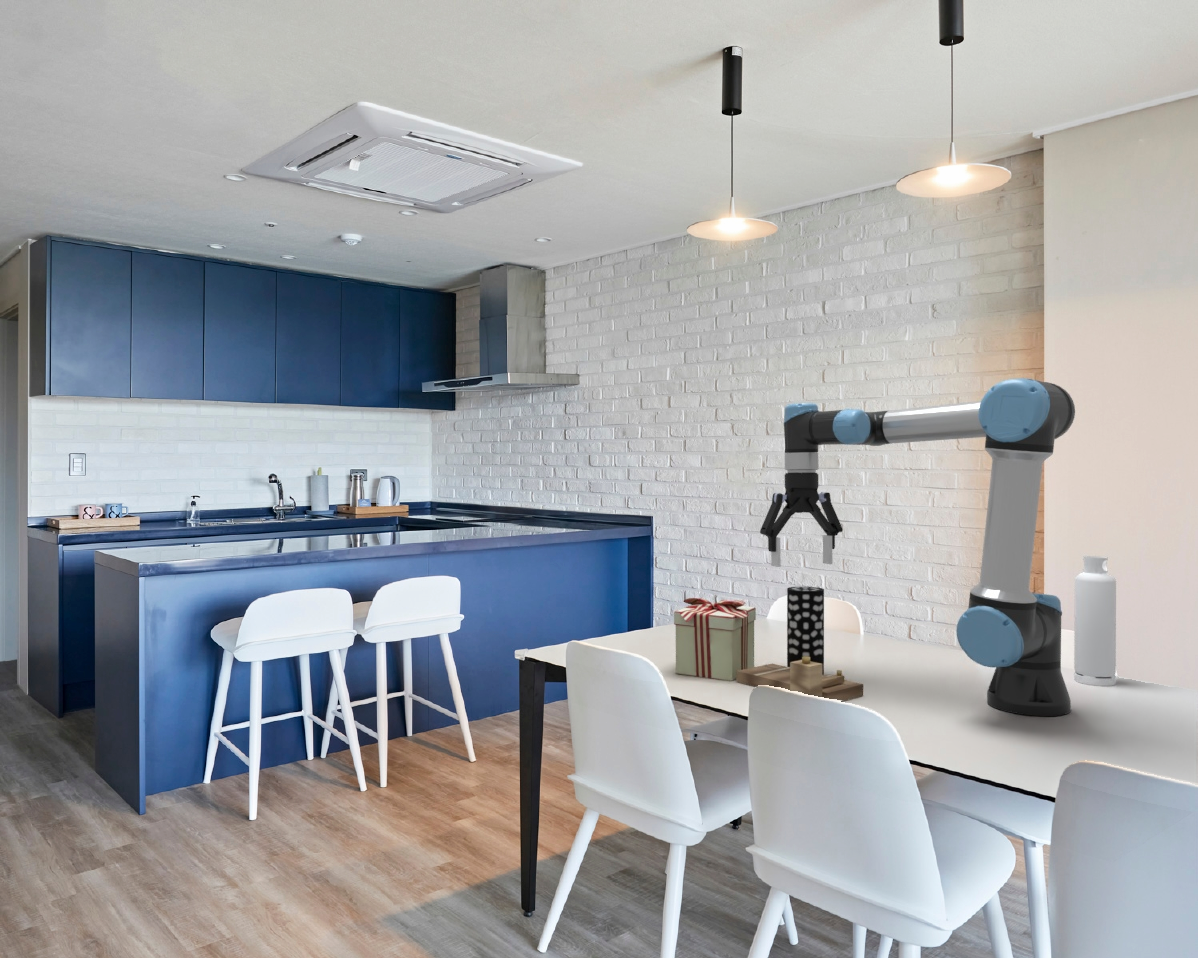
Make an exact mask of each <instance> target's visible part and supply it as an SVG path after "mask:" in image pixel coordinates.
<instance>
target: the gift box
mask: <svg viewBox="0 0 1198 958" xmlns="http://www.w3.org/2000/svg"><path fill="white" fill-rule="evenodd" d="M683 602H684V603H685V604H689V605H687V606H685V607H683V608H681V609H680V608H679V609H678V610H675V611H674V612H673V625H675V674H676V675H682V676H684V675H685V676H691V677H698V678H703V679H704V678H705V679H713V680H721V681H728V682H733V681H735V680H737V671H738V670H743V669H748V668H753V667H755V621H756V620H757V618H756V616H757V614H756V613H757V608H756V607H755V606H748V605H747V606H745V605H746V602H745V600H744V601H743V600H727V599H722V600H719V601H718V602H713V603H712V602H711V601H709V600H708V599H706V598H697V597H692V598H691V597H690V598H686V599H684V600H683Z"/></svg>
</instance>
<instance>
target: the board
mask: <svg viewBox="0 0 1198 958" xmlns="http://www.w3.org/2000/svg"><path fill="white" fill-rule="evenodd" d="M828 676H829V675H825V674H824V675H822V678H823V677H828ZM736 683H739V684H744V685H746V686H749V687H750V686H751V687H755V686H758V685H769V686H774V687H781V688H785V689H788V690H790V667H787V666H785V665H780V664H777V663H768V664H763V665H759V666H754V667H753V668H748V669H743V670H738V671H737V678H736ZM755 688H756V687H755ZM822 697H824V698H829V699H837V700H844V701H843V702H845V701H849V700H848V699H850V700H853V699H858V698H861V697H864V683H860V682H855V681H852V680H847V679H845V682H844V683H840V684H836V685H832V686H828V687H823V688H822Z"/></svg>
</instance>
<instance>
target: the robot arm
mask: <svg viewBox="0 0 1198 958" xmlns="http://www.w3.org/2000/svg"><path fill="white" fill-rule="evenodd" d="M1075 416H1076V407H1075V402H1074V399H1073V398H1072V397H1071V395H1070V393H1068V392H1067V390H1066V389H1065V388H1063V387H1062V386H1060V385H1057V384H1055V383H1052V382H1046V381H1041V380H1037V379H1032V378H1025V377H1022V378H1010V379H1005V380H1002V381H999V382H997V383H996V384H995V385H993V386H992V387H991V388H990V389H988V391H986V393H985V394H984V395H983V396H982V398H981V400H980V401H979V400H978V401H968V402H958V403H951V404H950V403H949V404H938V405H930V406H929V405H928V406H919V407H911V408H901V409H892V410H881V411H879V410H878V411H864V410H863V409H859V408H858V409H857V408H856V409H854V408H845V409H836V410H827V411H826V410H825V411H824V410H823V411H822V410H821V411H819V407H818V404H816V403H813V402H812V403H811V402H802V403H801V402H800V403H790V404H788V405H786V406H785V407H784V420H783V429H784V433H783V434H784V470H785V471H787V472H786V473H785V474H784V490H785V493H784V494H782V493H781V492H780V493H779V492H778V493H777V492H775V493H772V498H771V499H772V500H771V504H770V507H769V509H768V512H767V513H766V516H765V518H764V521H763V523H762V526H761V528H760V531H759V532H760V534H761V535H764V536H765V537H767V540H768V541H767V543H768V545H767V548H768V551H769V552H770V556H771V557H770V558H771V561H770V564H771V565H770V566H771V567H775V568H779V567H781V561H782V560H781V537H778V535H779V534H780V533H781V531H782V530H783V528H784V527H785V525H786V524H787V523H788V521H789V520H790V518H791V517H792V516H793V515H795V513H796V514H801V513H807V514H810V515H811V516H812V517H813V519H814V520H815V521H816V522H817V524H818V525H819V526H820V527H821V529H822V530H823V532H824V533H825V534H823V535H822V564H824V565H825V564H826V565H833V550H835V548H836V536H837V535H839V533H842V532H843V526H842V524H841V521H840V519H839V518H838V514H837V513H836V510H835V508H834V506H833V504H832V499H831V493H830V492H823V491H822V492H820V493H819V492H818V488H819V473H818V472H817V471H818V470H819V446H823V445H826V446H827V445H829V446H830V445H834V446H835V445H847V446H848V445H849V446H850V445H852V446H854V445H856V446H862V445H863V446H872V447H875V446H877V447H878V446H879V447H880V446H885V445H889V444H903V443H917V442H920V443H921V442H931V441H932V442H933V441H946V440H949V441H950V440H959V439H960V440H961V439H976V438H985V442H984V450H985V452H986V453H988V455H989V456H990V457H991V470H990V481H989V491H988V500H987V508H986V519H985V529H984V536H983V537H984V538H983V547H982V548H983V549H982V557H981V565H980V578H979V582H978V583H977V584H976V585H974V586H973V587H972V588H971V589H970V591H969V597H968V598H969V600H968V609H967V610H965V611H964V612H963V613H962V614H961V616H960V617H959V619H958V620H957V624H956V630H955V631H956V638H957V641H958V645H959V646H960V648H961V650H962V651H963V652H964V653H965V654H966V655H967V657H968V658H969V659H970V660H972V661H973V662H974V663H976V664H978V665H981V666H983V667H986V668H987V667H988V668H995V669H994V672H993V675H992V677H991V680H990V683H989V686H988V689H987V692H986V693H987V694H986V702H987V704H988V705H989V706H991V707H992V708H995V709H997V710H1001V711H1003V712H1008V713H1012V714H1020V715H1027V716H1036V717H1037V716H1038V717H1055V716H1063V715H1067V714H1069V713H1071V706H1072V705H1071V704H1072V703H1071V696H1070V693H1069V691H1068V688H1067V685H1066V683H1065V679H1064V676H1063V674H1062V666H1061V665H1062V664H1061V662H1062V661H1061V659H1062V616H1063V611H1062V606H1061V605H1062V603H1061V600H1060V598H1059V597H1058V596H1056V595H1054V594H1047V593H1046V594H1044V593H1036V592H1032V591H1031V589H1030V583H1031V573H1032V564H1033V554H1034V545H1035V539H1036V537H1035V535H1036V526H1037V518H1038V508H1039V499H1040V491H1041V490H1040V489H1041V481H1042V473H1043V465H1044V464H1043V463H1045V461H1046V460H1048V458H1049V457H1051V456H1052V455H1053V454H1054V448H1055V440H1057V439H1059V438H1060V437H1061V436H1064V434H1066V433H1067V432H1068V430H1070V427H1071V426H1072V425H1073V423H1074V420H1075V418H1076V417H1075ZM818 501H819V503H820V505H821V507H822V509H823V512H822V510H821V507H819V505H818V504H817V503H818ZM784 502H785V503H786V504H785V506H784V507H783V508H782V505H783V504H784ZM781 508H782V512H781V513H780V510H781ZM779 513H780V514H779Z"/></svg>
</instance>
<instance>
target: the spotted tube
mask: <svg viewBox="0 0 1198 958" xmlns="http://www.w3.org/2000/svg"><path fill="white" fill-rule="evenodd" d="M786 597H787V598H786V605H787V606H786V623H787V624H786V647H787V648H786V651H787V653H786V659H787V660H786V667H790V662H794V661H799V660H802V657H803V656H808V657H810V661H811V662H816V663H821V664H822V675H825V589H824V588H821V587H815V586H791V587H787V588H786Z"/></svg>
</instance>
